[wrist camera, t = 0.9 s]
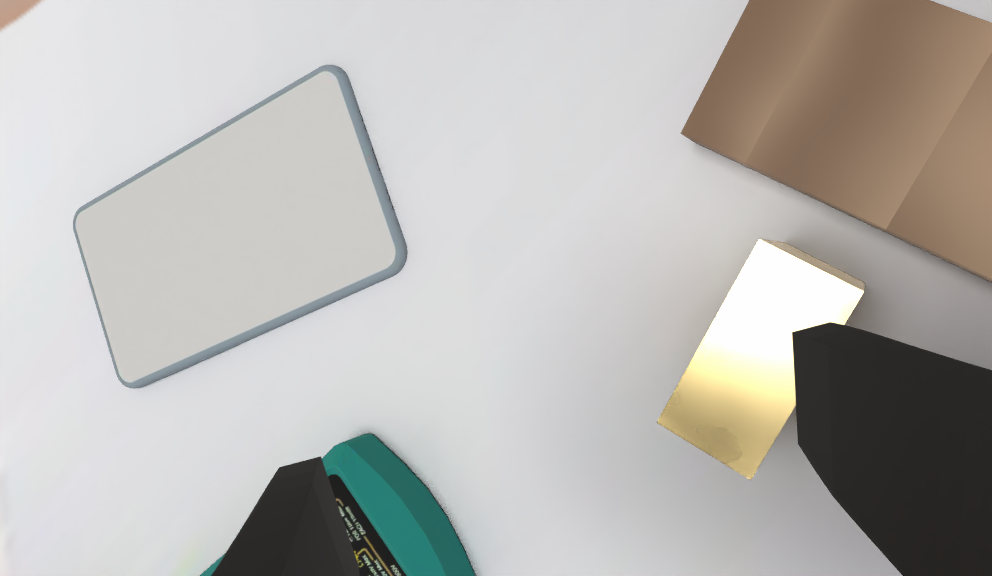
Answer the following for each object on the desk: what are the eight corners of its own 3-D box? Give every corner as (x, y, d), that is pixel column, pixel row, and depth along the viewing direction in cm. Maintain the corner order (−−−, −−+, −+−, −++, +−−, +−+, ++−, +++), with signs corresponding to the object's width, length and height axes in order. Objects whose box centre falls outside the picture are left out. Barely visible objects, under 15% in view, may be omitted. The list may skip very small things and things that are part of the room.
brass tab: (864, 282, 23) (863, 291, 18) (776, 429, 25) (751, 480, 19) (783, 242, 24) (758, 239, 19) (701, 386, 25) (656, 422, 20)
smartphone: (408, 267, 29) (119, 395, 35) (422, 266, 30) (138, 391, 36) (335, 54, 30) (65, 212, 36) (350, 60, 31) (84, 213, 37)
